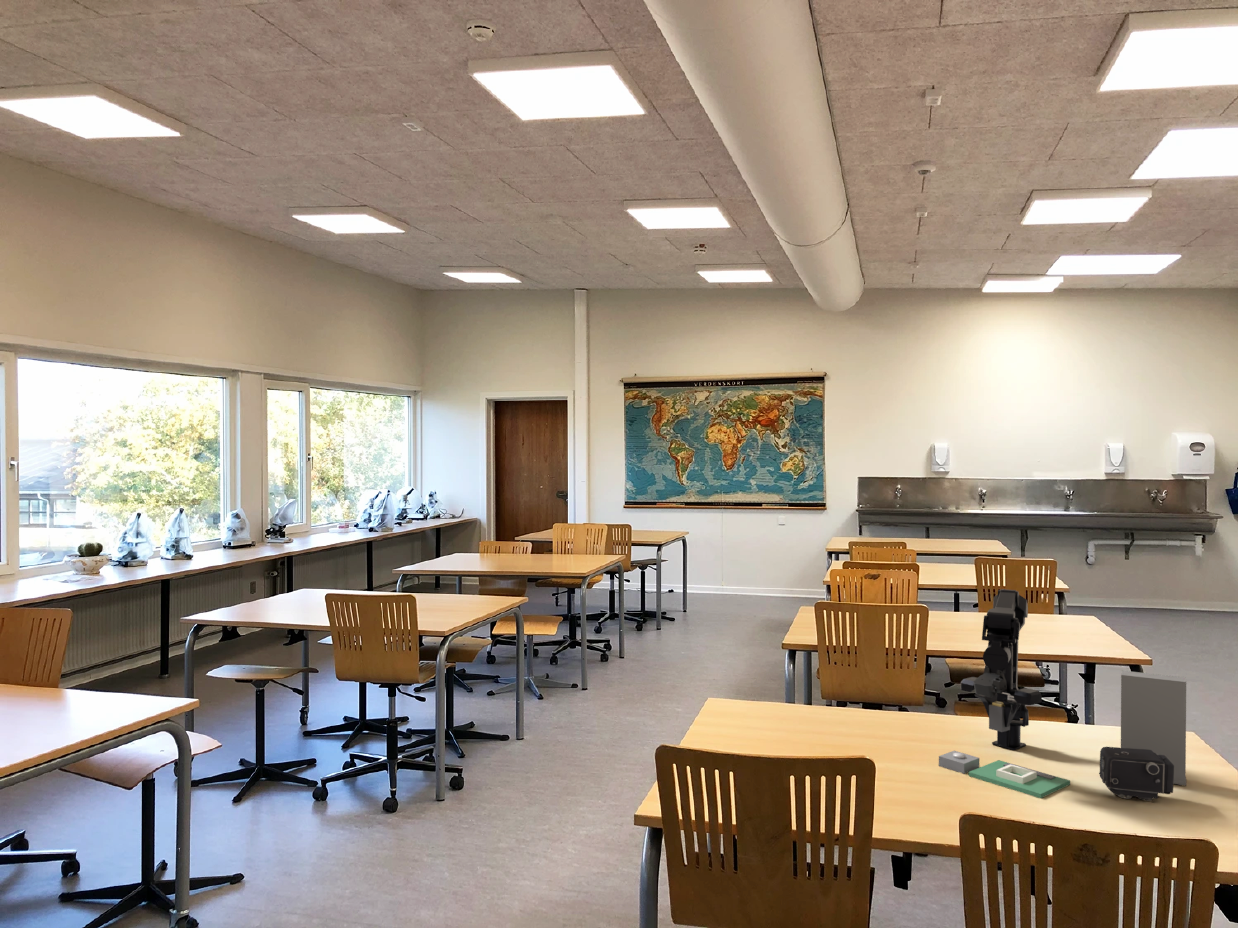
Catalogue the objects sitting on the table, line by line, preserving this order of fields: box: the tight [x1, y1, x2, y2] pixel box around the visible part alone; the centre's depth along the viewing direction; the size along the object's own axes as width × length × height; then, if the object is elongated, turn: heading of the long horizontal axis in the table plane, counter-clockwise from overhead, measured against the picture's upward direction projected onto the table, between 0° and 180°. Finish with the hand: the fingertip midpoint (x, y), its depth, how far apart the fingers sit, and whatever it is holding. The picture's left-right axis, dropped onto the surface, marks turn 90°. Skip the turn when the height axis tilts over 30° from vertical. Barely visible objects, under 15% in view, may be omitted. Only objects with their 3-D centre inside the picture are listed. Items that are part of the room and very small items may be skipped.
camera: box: [1098, 746, 1174, 802], centre depth 205 cm, size 10×11×14 cm
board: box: [968, 759, 1071, 799], centre depth 216 cm, size 14×18×2 cm
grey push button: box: [938, 750, 980, 775], centre depth 225 cm, size 7×7×3 cm
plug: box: [988, 701, 1010, 732], centre depth 222 cm, size 4×4×7 cm
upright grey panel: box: [1120, 670, 1187, 786], centre depth 218 cm, size 14×6×25 cm, turn 59°
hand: (999, 725), depth 222 cm, fingers closed on plug, 3 cm apart
